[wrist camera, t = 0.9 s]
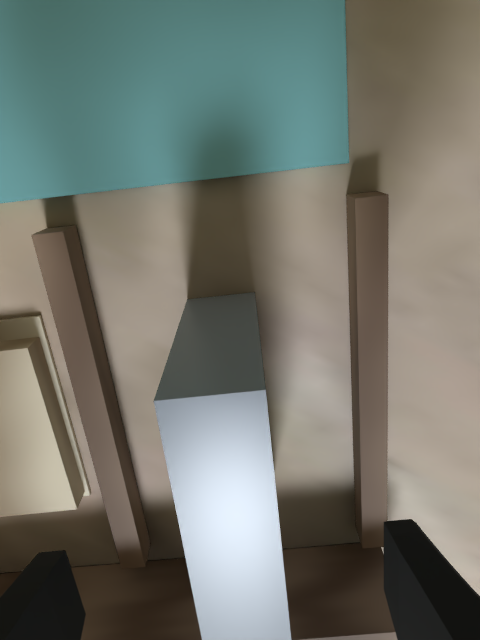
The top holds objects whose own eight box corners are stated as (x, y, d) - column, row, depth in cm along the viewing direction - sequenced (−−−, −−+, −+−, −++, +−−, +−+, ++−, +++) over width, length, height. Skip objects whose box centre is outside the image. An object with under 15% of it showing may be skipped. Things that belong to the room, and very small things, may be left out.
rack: (377, 190, 15) (423, 206, 11) (378, 558, 21) (409, 649, 17) (-184, 254, 16) (-316, 288, 12) (-34, 593, 21) (-92, 688, 18)
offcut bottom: (50, 307, 17) (39, 316, 16) (97, 479, 20) (90, 495, 19) (-80, 321, 17) (-98, 331, 17) (-15, 490, 20) (-28, 506, 19)
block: (254, 291, 16) (265, 389, 10) (273, 475, 19) (292, 646, 13) (187, 298, 16) (153, 401, 10) (216, 480, 19) (205, 653, 13)
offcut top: (39, 336, 17) (27, 348, 16) (84, 491, 19) (76, 509, 18) (-79, 350, 17) (-98, 362, 16) (-19, 501, 19) (-32, 520, 18)
